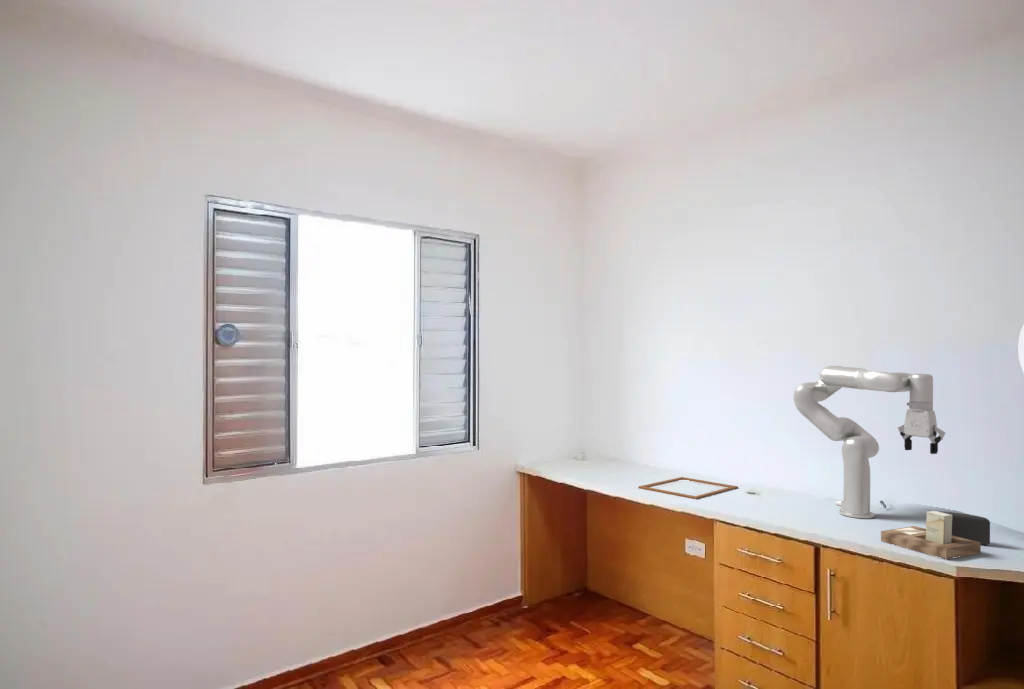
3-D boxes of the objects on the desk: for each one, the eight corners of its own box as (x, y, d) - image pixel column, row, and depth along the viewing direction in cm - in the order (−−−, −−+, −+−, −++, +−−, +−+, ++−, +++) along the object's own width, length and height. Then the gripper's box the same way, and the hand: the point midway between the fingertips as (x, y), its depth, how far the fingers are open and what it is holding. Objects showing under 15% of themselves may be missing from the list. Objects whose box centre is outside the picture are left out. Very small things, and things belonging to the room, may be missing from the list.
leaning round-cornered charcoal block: (989, 544, 225) (990, 516, 225) (989, 547, 222) (990, 519, 222) (933, 535, 235) (934, 509, 235) (933, 538, 231) (933, 511, 231)
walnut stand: (880, 541, 226) (881, 530, 226) (914, 535, 234) (914, 525, 234) (946, 559, 206) (946, 547, 206) (980, 553, 214) (980, 541, 214)
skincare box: (924, 547, 219) (925, 511, 220) (933, 546, 221) (933, 510, 221) (943, 553, 214) (944, 515, 214) (952, 551, 215) (952, 514, 216)
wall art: (638, 486, 310) (681, 476, 336) (638, 489, 310) (681, 479, 336) (696, 497, 288) (738, 486, 314) (696, 500, 288) (738, 489, 314)
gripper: (892, 404, 253) (892, 449, 253) (938, 408, 237) (937, 455, 237) (905, 404, 256) (905, 448, 256) (950, 408, 241) (950, 454, 240)
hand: (920, 451), depth 247 cm, fingers open, 9 cm apart
